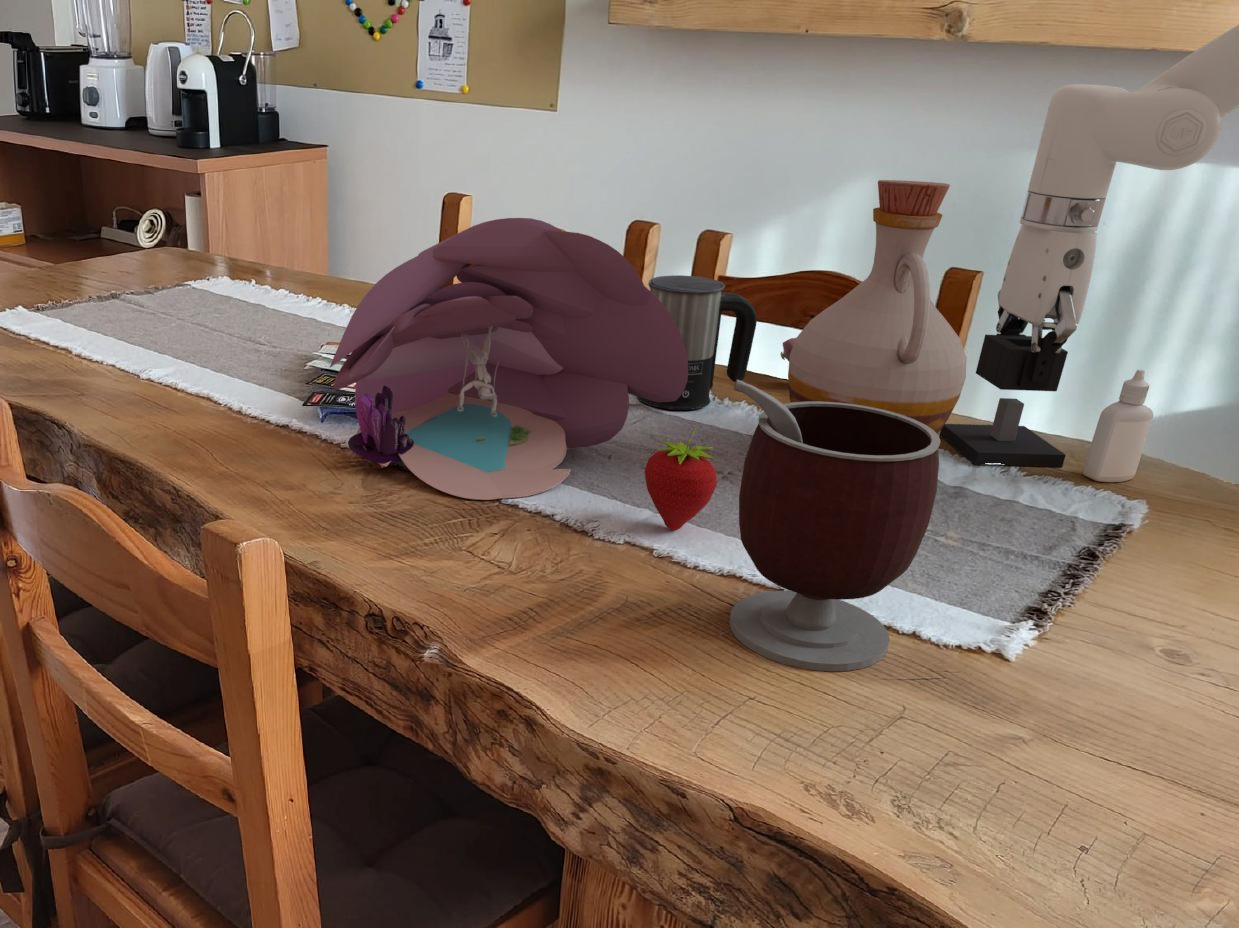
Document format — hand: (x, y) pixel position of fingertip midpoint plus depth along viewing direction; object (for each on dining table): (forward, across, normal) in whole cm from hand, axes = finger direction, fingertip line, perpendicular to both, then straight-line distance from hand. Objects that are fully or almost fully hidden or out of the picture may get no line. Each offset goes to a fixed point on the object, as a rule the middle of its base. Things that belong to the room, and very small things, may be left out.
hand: (1017, 376), depth 131 cm
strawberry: (+9, -25, +43) cm, 50 cm away
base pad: (+9, 0, 0) cm, 9 cm away
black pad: (+1, 0, 0) cm, 1 cm away
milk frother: (+9, +20, +34) cm, 40 cm away
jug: (+9, -7, +19) cm, 22 cm away
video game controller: (+9, +26, +15) cm, 31 cm away
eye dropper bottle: (+9, -8, -9) cm, 15 cm away
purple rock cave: (+9, -9, +60) cm, 61 cm away
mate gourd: (+9, -45, +37) cm, 59 cm away
